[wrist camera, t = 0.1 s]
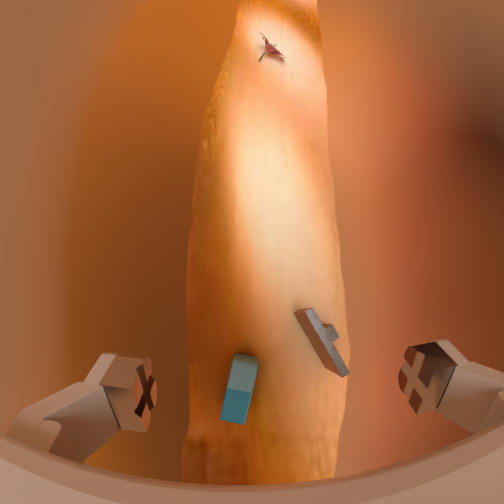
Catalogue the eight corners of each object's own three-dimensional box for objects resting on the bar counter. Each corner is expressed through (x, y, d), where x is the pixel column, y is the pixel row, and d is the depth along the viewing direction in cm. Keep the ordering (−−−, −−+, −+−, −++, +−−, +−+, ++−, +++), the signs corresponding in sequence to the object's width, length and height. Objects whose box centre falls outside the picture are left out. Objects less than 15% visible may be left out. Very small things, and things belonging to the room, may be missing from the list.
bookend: (342, 356, 60) (363, 363, 49) (325, 367, 60) (342, 377, 48) (311, 302, 63) (326, 298, 51) (293, 313, 62) (304, 311, 50)
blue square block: (235, 351, 60) (232, 359, 49) (256, 356, 60) (259, 365, 48) (223, 404, 58) (218, 422, 46) (244, 408, 58) (244, 427, 46)
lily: (282, 76, 78) (297, 52, 70) (246, 63, 73) (260, 36, 66) (277, 62, 84) (290, 39, 76) (244, 49, 79) (256, 26, 72)
